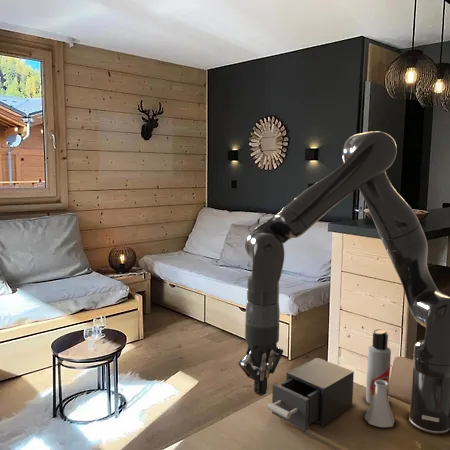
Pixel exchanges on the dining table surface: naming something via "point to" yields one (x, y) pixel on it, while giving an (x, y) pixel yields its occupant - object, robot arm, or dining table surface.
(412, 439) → the dining table surface
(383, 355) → the lotion bottle
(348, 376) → the cabinet
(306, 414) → the drawer
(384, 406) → the flask
